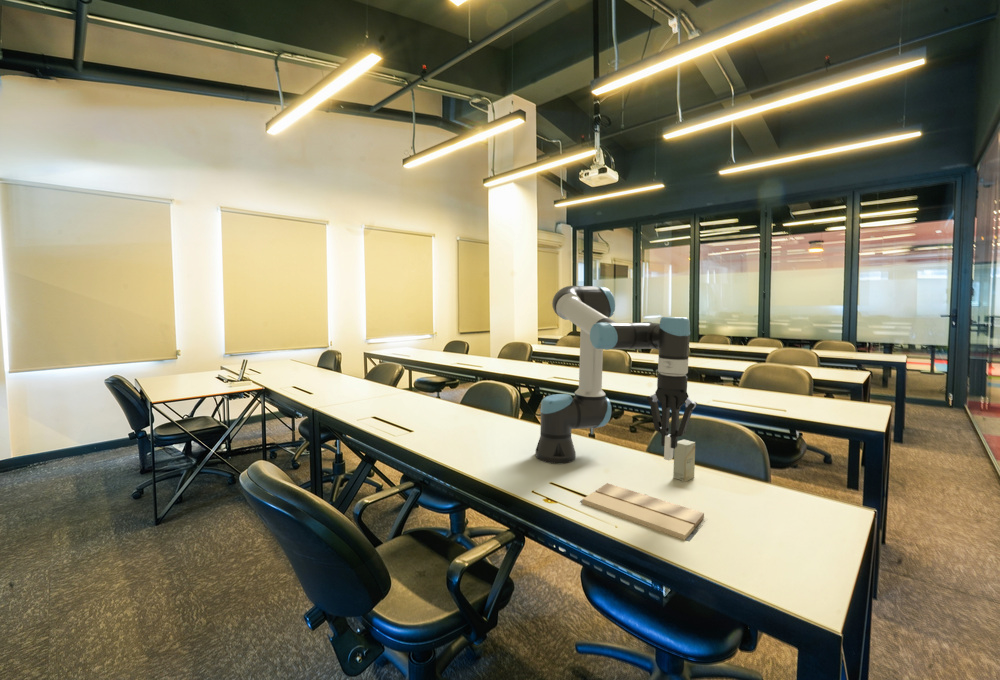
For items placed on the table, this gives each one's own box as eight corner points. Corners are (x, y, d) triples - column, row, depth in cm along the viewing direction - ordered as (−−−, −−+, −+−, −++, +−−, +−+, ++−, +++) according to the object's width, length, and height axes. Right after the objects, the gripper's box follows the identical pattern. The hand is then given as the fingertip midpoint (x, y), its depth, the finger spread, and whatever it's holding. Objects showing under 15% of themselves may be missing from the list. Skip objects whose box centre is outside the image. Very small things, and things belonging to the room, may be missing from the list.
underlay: (579, 505, 119) (579, 497, 119) (604, 489, 130) (605, 482, 130) (689, 545, 99) (689, 536, 99) (708, 522, 110) (708, 514, 110)
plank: (595, 494, 124) (595, 490, 124) (607, 486, 129) (607, 483, 129) (695, 528, 105) (695, 523, 105) (704, 517, 110) (704, 513, 110)
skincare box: (685, 482, 136) (686, 445, 136) (672, 477, 140) (673, 442, 139) (694, 477, 140) (696, 441, 139) (681, 473, 144) (683, 438, 143)
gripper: (643, 372, 115) (639, 456, 117) (693, 378, 106) (688, 468, 108) (654, 369, 120) (650, 449, 122) (702, 375, 112) (697, 461, 114)
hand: (668, 458), depth 115 cm, fingers closed
